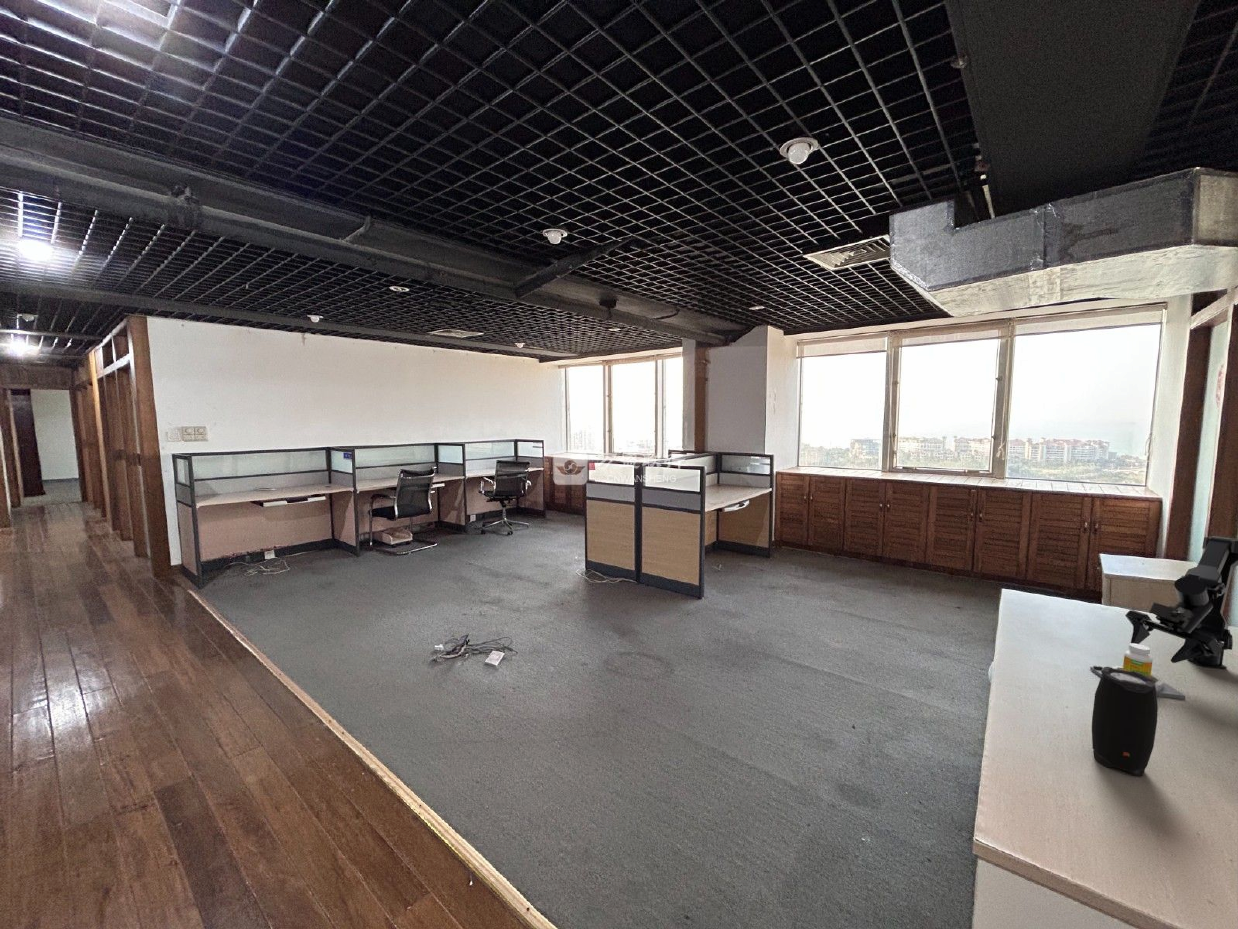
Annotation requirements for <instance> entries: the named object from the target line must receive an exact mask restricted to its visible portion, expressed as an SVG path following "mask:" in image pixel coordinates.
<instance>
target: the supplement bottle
mask: <svg viewBox="0 0 1238 929" xmlns="http://www.w3.org/2000/svg"><path fill="white" fill-rule="evenodd" d="M1128 649H1129V650H1126V651H1124V654H1123V655H1124V656H1123V663H1122V667H1123V670H1125V671H1136V672H1139V673H1142V674H1144V675H1146V676H1148V677H1151V674H1152V669H1153V668H1152V667H1153V660H1154V659H1153V658H1152V657H1151V656H1150V653H1151V648H1149V647H1148V646H1147V645H1143V644H1141V643H1139V644H1135V643H1131V642H1129V645H1128Z"/></svg>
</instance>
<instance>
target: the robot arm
mask: <svg viewBox="0 0 1238 929" xmlns="http://www.w3.org/2000/svg"><path fill="white" fill-rule="evenodd" d="M1202 550H1204V551H1203V553H1202V555H1201V556H1200V559H1199V561H1198V563H1197V565H1196V566H1195V567H1191V568H1188V569H1187V571H1186V573H1185V574H1184V575H1181V576H1180V578H1178V579H1176V580H1175V581H1174V583H1173V586H1174V589H1175V590H1174V591H1175V593H1176V596H1177V599H1178V601H1177V603H1176V604H1175V605H1174V606H1172V605H1166V604H1165V605H1164V604H1162V603H1158V602H1155V601H1154V602H1153V603H1152V604H1151V607H1150V609H1149V611H1148V613H1149V614H1153V615H1155V618H1156V620H1157V621H1159V622H1157V621H1154V620H1152V618H1151V617H1150V616H1149V615H1148V614H1147V613H1144V612H1141V611H1137V610H1134V609H1130V610H1129V611H1128V612H1127V613H1125V615H1124V616H1125V617H1126V619H1127V620H1128V621H1129V622H1130V624H1131V625H1132V635H1131V639H1130V643H1135V644H1141V643H1142V642H1144V640H1146V639H1147V638H1148V637H1149V636H1150V635H1151V633H1150V632H1153V631H1154V630H1157V631H1160V632H1163V633H1165V634H1168V635H1171V636H1174V637H1176V638H1180V639H1183V640H1184V643H1183V645H1182V646H1181V647H1180V648H1179V649H1178V650H1177V651H1176V653H1174V654H1173V656H1172V657H1171V659H1170V662H1171V663H1173V664H1177V663H1179V662H1183V661H1186V660H1189V661H1191V662H1192V663H1194V664H1196V665H1198V666H1201V667H1209V668H1216V667H1221V668H1220V669H1225V668H1227V669H1228V666H1226V665H1224V664H1223V663H1224V662H1223V661H1224V652H1225V651H1227V650H1229V651H1230V650H1231V651H1232V650H1233V645H1234V644H1233V643H1234V641H1233V640H1234V639H1233V638H1234V637H1233V634H1232V633H1231V630H1230V629H1229V623H1228V622H1227V621H1226V619H1225V617H1224V615H1223V613H1224V609H1225V604H1226V600H1227V595H1228V593H1229V587H1230V583H1231V578H1232V574H1233V570H1234V569H1235V568H1236V567H1237V566H1238V538H1234V537H1224V536H1218V535H1212V536H1204V537H1203V542H1202Z"/></svg>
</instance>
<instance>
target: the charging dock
mask: <svg viewBox="0 0 1238 929" xmlns="http://www.w3.org/2000/svg"><path fill="white" fill-rule="evenodd" d="M1089 668H1090V669H1089V671H1091V672H1092V671H1093V672H1092V673H1094V674H1095V675H1097V676H1098V677H1099V678H1101V676H1102V673H1101V672H1102V670H1103V666H1097V665H1093V666H1090V667H1089ZM1111 668H1114V669H1119V670H1123V665H1122V666H1121V665H1119V666H1118V665H1112V666H1111ZM1150 678H1151V679H1153V681H1154V683H1155V687H1156V695H1157V697H1162V698H1163V697H1164V698H1168V699H1177V698H1179V699H1178V700H1186V695H1185V694H1184V693H1182V692H1181V691H1178V690H1177V689H1176V688H1173V687H1172V686H1171V685H1169V684H1167V683H1166V682H1165V681H1164V680H1162V679H1161V678H1159V677H1158V676H1156V675H1155V674H1152V673H1151V677H1150Z"/></svg>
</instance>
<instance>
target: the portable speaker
mask: <svg viewBox="0 0 1238 929" xmlns="http://www.w3.org/2000/svg"><path fill="white" fill-rule="evenodd" d="M1111 667H1112V666H1111ZM1111 667H1110V666H1102V668H1103V670H1102V672H1101V673H1102V676H1101V677H1100V679H1099V682H1098V684H1097V687H1096V690H1095V693H1094V700H1093V707H1092V716H1091V741H1092V743H1091V744H1092V750H1093V752H1092V753H1093V758H1094V759H1095V760H1096V761H1097V763H1099V764H1101V765H1102V766H1105V767H1106V769H1107V768H1108V769H1110V768H1112V767H1113V768H1117V769H1119V770H1123V771H1126V772H1129V773H1130V775H1132V776H1133V777H1143V775H1144V774H1145V771H1146V768H1147V767H1148V764H1149V761H1150V758H1151V756H1152V753H1153V750H1154V745H1155V741H1156V740H1155V739H1156V734H1157V733H1156V732H1157V724H1158V710H1159V708H1158V699H1157V698H1158V696H1157V695H1156V687H1155V683H1154V681H1153V679H1151V678H1150V677H1148V676H1146V675H1144V674H1142V673H1139V672H1136V671H1125V670H1119V669H1114V668H1111Z"/></svg>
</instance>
